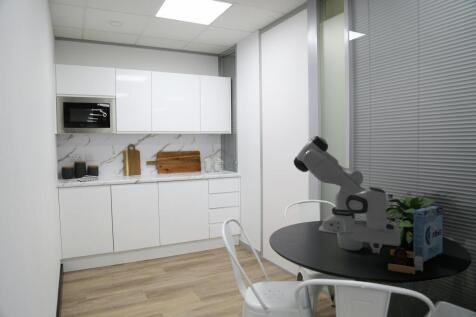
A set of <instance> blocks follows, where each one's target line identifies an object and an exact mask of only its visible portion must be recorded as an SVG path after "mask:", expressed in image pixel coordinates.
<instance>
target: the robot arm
mask: <svg viewBox="0 0 476 317" xmlns="http://www.w3.org/2000/svg"><path fill="white" fill-rule="evenodd" d="M328 148H329V144H328V142H327V140H326V139H325V138H324V137H321V136H319V135H314V136H313V137H312V138H311V139H310V141H308V142H306V144H305V145H304V146H303V147H302V148H301V150H300V152H298V154H297V156H295V158H294V159H293V165H294V166H295V168H296V169H297V170H298V171H300V172H301V173H307V172H308V171H309V172H310V173H311V174H312V175H313V176H314V178H316V179H317V180H318V181H320V182H322V183H324V184H330V185H336V186H339V191H338V192H337V193H336V194H335V199H334V200H335V201H334V202H335V206H333V207H332V209H331V214H329V215H327V216H326V217H325V218H324V219H323V221H322V224H321V225H320V226H319V227H318V232H319V231H320V232H323V233H330V234H336V235H337V233H338V232H341V231H354V232H353V239H354V241H360V242H363V243H369V245H370V247H371V250H372V253H374V254H380V250H381V248H382V247H383V245H386V246H395V247H399V246H401V234H400V230H399V229H398V227H399V226H398V223H397V222H395V221H393V220H390V219H388V215H387V209H388V199H387V193H386V191H385V190H384V189H382V188H381V187H379V188H378V187H373V186H371V187H368V188H367V189H366V188H363V187H362V186H361V185H362V184H363V181H364V175H363V173H362V172H361V171H359V170H358V169H355V168H347V167H344V166H341V165H340V164H339V161H338V159H337V158H336V157H335V156H333V155H332V154H330V153H329V152H327V151H328ZM357 214H358V215H359V214H365V221H358V220H357V221H355V218H356V215H357ZM374 244H378V248H377V247H375V246H374Z"/></svg>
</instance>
